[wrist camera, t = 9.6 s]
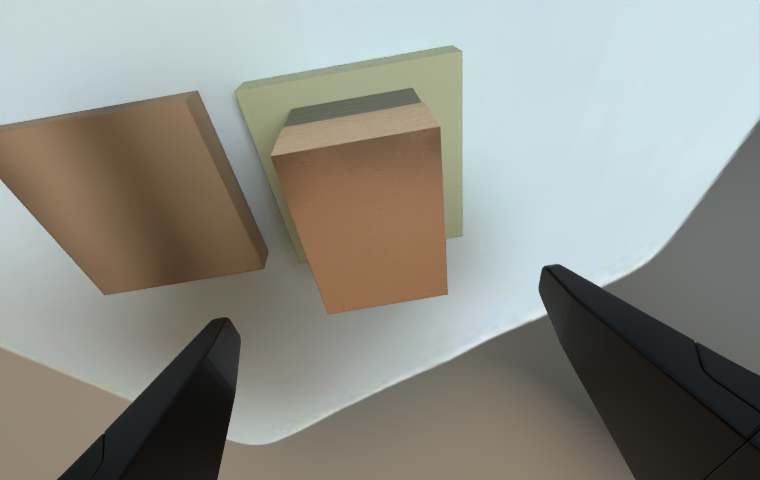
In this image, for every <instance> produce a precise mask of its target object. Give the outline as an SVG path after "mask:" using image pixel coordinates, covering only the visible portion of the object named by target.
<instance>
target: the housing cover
mask: <svg viewBox="0 0 760 480" xmlns="http://www.w3.org/2000/svg"><path fill="white" fill-rule="evenodd" d="M270 157H271V159H272V162H273V165H274V168H275V170H276V173H277V176H278V179H279V181H280V184H281V187H282V190H283V192H284V195H285V198H286V201H287V203H288V206H289V209H290V212H291V214H292V217H293V220H294V223H295V225H296V228H297V231H298V234H299V236H300V239H301V242H302V245H303V247H304V250H305V253H306V256H307V258H308V261H309V264H310V267H311V269H312V272H313V275H314V278H315V280H316V283H317V286H318V289H319V291H320V294H321V297H322V300H323V303H324V305H325V308H326V311H327V314H333V313H339V312H345V311H351V310H357V309H363V308H369V307H375V306H381V305H387V304H393V303H399V302H405V301H411V300H417V299H423V298H429V297H435V296H442V295H448V288H447V265H446V242H445V219H444V196H443V174H442V151H441V128H440V125H439V123H438V122H437V120H436V119H435V117H434V116H433V114H432V113H431V111H430V110H429V108H428V107H427V105H426V104H425V102H423V103H417V104H411V105H406V106H400V107H395V108H389V109H384V110H378V111H372V112H367V113H361V114H356V115H350V116H344V117H339V118H333V119H328V120H322V121H316V122H311V123H305V124H300V125H294V126H289V127H283V128H282V130H281V133H280V135H279V137H278V140H277V142H276V144H275V147H274V149H273V151H272V154H271V156H270Z"/></svg>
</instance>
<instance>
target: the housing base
mask: <svg viewBox="0 0 760 480" xmlns="http://www.w3.org/2000/svg"><path fill="white" fill-rule="evenodd" d="M417 103H422V101H421V100H420V98H419V97H418V95H417V94H416V92H415V91H414V89H413V88H407V89H401V90H396V91H390V92H384V93H379V94H373V95H367V96H362V97H356V98H350V99H345V100H339V101H333V102H328V103H322V104H316V105H310V106H305V107H299V108H293V109H291V111H290V113H289V116H288V118H287V120H286V123H285V125H284V127H289V126H294V125H300V124H305V123H311V122H316V121H322V120H328V119H333V118H339V117H344V116H350V115H356V114H361V113H367V112H372V111H378V110H384V109H389V108H395V107H400V106H406V105H411V104H417Z"/></svg>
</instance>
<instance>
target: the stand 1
mask: <svg viewBox="0 0 760 480" xmlns="http://www.w3.org/2000/svg"><path fill="white" fill-rule="evenodd" d="M0 179H1V180H2V182H3V183H4V184H5V185H6V186H7V187H8V188H9V189H10V190H11V192H12V193H13V194H14V195H15V196H16V197H17V198H18V199H19V200H20V202H21V203H22V204H23V205H24V206H25V207H26V208H27V209H28V210H29V212H30V213H31V214H32V215H33V216H34V217H35V218H36V219H37V220H38V222H39V223H40V224H41V225H42V226H43V227H44V228H45V229H46V230H47V232H48V233H49V234H50V235H51V236H52V237H53V238H54V239H55V240H56V242H57V243H58V244H59V245H60V246H61V247H62V248H63V249H64V250H65V252H66V253H67V254H68V255H69V256H70V257H71V258H72V259H73V260H74V262H75V263H76V264H77V265H78V266H79V267H80V268H81V269H82V270H83V272H84V273H85V274H86V275H87V276H88V277H89V278H90V279H91V280H92V282H93V283H94V284H95V285H96V286H97V287H98V288H99V289H100V291H101V292H102V293H103V294H104V295H110V294H116V293H122V292H128V291H134V290H140V289H146V288H152V287H158V286H164V285H170V284H176V283H182V282H188V281H194V280H200V279H206V278H212V277H218V276H224V275H230V274H236V273H242V272H248V271H254V270H260V269H264V266H265V263H266V259H267V256H268V249H267V247H266V245H265V243H264V240H263V238H262V236H261V234H260V231H259V229H258V227H257V225H256V222H255V220H254V218H253V215H252V213H251V211H250V209H249V206H248V204H247V202H246V200H245V197H244V195H243V193H242V190H241V188H240V186H239V184H238V181H237V179H236V177H235V175H234V172H233V170H232V168H231V165H230V163H229V161H228V159H227V156H226V154H225V152H224V150H223V147H222V145H221V143H220V140H219V138H218V136H217V134H216V131H215V129H214V127H213V125H212V122H211V120H210V118H209V115H208V113H207V111H206V109H205V106H204V104H203V102H202V100H201V97H200V95H199V93H198V91H193V92H187V93H182V94H176V95H170V96H165V97H159V98H153V99H148V100H142V101H136V102H131V103H125V104H120V105H114V106H108V107H103V108H97V109H91V110H86V111H80V112H75V113H69V114H63V115H58V116H52V117H46V118H41V119H35V120H30V121H24V122H18V123H13V124H7V125H1V126H0Z"/></svg>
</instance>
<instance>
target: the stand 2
mask: <svg viewBox="0 0 760 480" xmlns="http://www.w3.org/2000/svg"><path fill="white" fill-rule="evenodd" d="M407 88H413V89H414V91H415V92H416V94H417V95H418V97H419V98H420V100H421V101H422V103H423V102H425V104H426V105H427V107H428V108H429V110H430V111H431V113H432V114H433V116H434V117H435V119H436V120H437V122H438V123H439V125H440V128H441V151H442V174H443V196H444V219H445V239H447V238H453V237H459V236H462V51H461V50H460V49H458V48H456V47H454V46H453V45H452V46H446V47H440V48H435V49H429V50H424V51H418V52H412V53H407V54H401V55H395V56H390V57H384V58H379V59H373V60H367V61H362V62H356V63H350V64H345V65H339V66H333V67H328V68H322V69H317V70H311V71H305V72H300V73H294V74H288V75H283V76H277V77H272V78H266V79H260V80H255V81H249V82H243V83H242V84H241V85H240V86H239V87H238V88H237V89H236V90H235V91H234V92H235V94H236V97H237V100H238V102H239V105H240V107H241V110H242V113H243V115H244V118H245V121H246V123H247V126H248V129H249V131H250V134H251V136H252V139H253V142H254V144H255V147H256V150H257V152H258V155H259V158H260V160H261V163H262V165H263V168H264V171H265V173H266V176H267V179H268V181H269V184H270V187H271V189H272V192H273V194H274V197H275V200H276V202H277V205H278V208H279V210H280V213H281V216H282V218H283V221H284V223H285V226H286V229H287V231H288V234H289V237H290V239H291V242H292V244H293V247H294V250H295V252H296V255H297V258H298V260H299V263H303V262H309V261H308V258H307V256H306V253H305V250H304V247H303V245H302V242H301V239H300V236H299V234H298V231H297V228H296V225H295V223H294V220H293V217H292V214H291V212H290V209H289V206H288V203H287V201H286V198H285V195H284V192H283V190H282V187H281V184H280V181H279V179H278V176H277V173H276V170H275V168H274V165H273V162H272V159H271V157H270V156H271V154H272V151H273V149H274V147H275V144H276V142H277V140H278V137H279V135H280V133H281V130H282V128H283V127H284V125H285V123H286V120H287V118H288V116H289V113H290V111H291V109H293V108H299V107H305V106H310V105H316V104H322V103H328V102H333V101H339V100H345V99H350V98H356V97H362V96H367V95H373V94H379V93H384V92H390V91H396V90H401V89H407Z"/></svg>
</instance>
